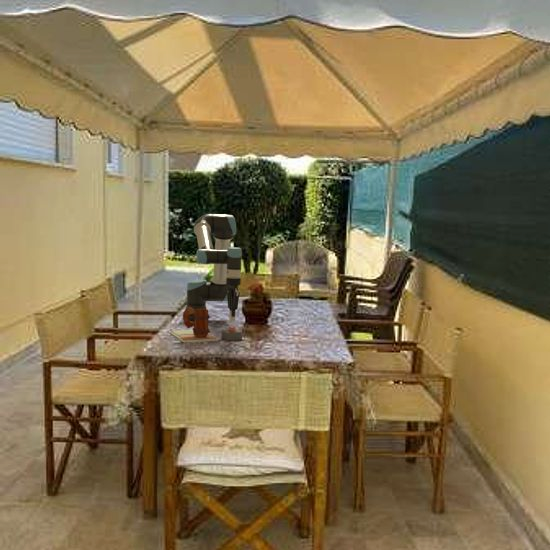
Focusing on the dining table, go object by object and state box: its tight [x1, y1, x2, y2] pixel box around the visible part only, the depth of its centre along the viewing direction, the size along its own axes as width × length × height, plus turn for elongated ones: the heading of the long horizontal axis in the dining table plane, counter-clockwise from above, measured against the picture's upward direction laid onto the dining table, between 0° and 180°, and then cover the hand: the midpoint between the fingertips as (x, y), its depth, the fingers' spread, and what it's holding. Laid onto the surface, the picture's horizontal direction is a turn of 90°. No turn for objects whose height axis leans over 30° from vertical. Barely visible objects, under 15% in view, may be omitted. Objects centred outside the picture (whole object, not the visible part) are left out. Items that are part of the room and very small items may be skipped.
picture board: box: [168, 329, 219, 343], centre depth 333 cm, size 26×18×1 cm
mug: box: [182, 307, 211, 337], centre depth 327 cm, size 15×8×15 cm, turn 75°
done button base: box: [221, 328, 243, 341], centre depth 332 cm, size 8×8×4 cm
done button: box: [227, 326, 236, 332], centre depth 331 cm, size 4×4×4 cm
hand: (232, 322), depth 331 cm, fingers closed
